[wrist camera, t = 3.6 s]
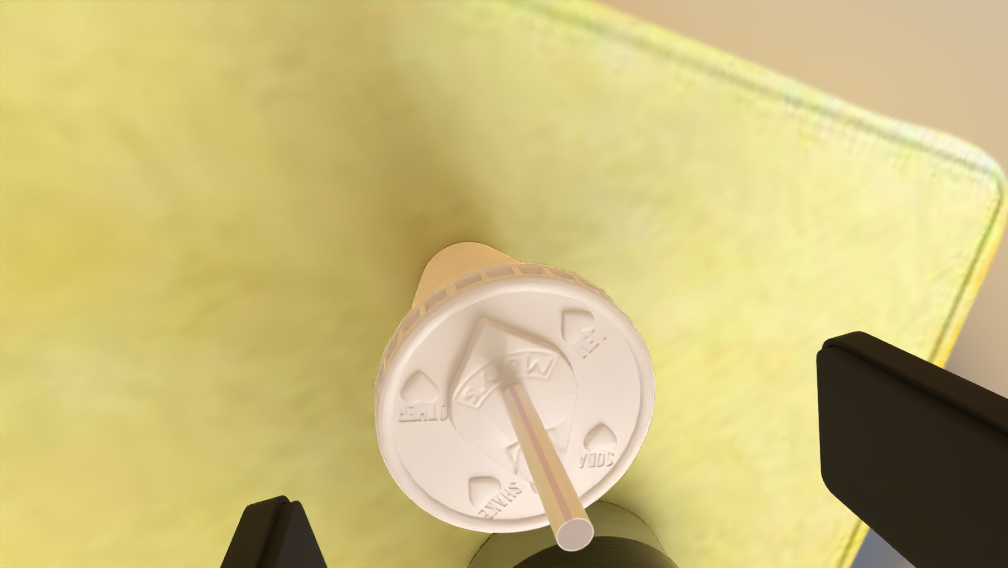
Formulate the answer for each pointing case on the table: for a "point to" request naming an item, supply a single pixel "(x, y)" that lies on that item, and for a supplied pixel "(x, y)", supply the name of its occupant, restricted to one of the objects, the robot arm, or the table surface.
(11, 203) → the table surface
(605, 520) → the jar
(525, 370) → the smoothie
